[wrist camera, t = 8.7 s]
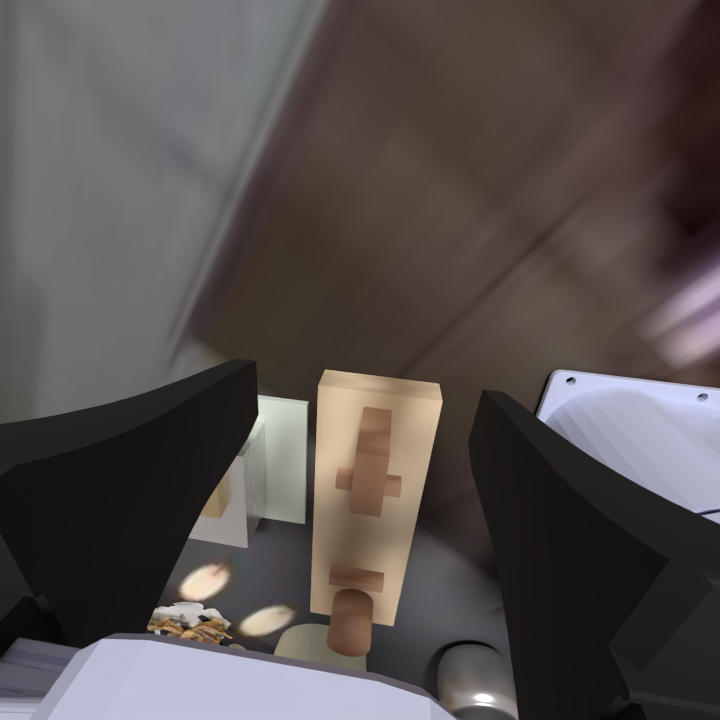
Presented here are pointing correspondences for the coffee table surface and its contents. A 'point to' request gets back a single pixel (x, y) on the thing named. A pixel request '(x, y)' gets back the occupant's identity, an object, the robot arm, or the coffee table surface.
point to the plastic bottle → (476, 684)
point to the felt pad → (285, 457)
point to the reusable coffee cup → (314, 647)
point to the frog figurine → (190, 623)
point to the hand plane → (367, 498)
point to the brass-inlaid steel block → (237, 497)
